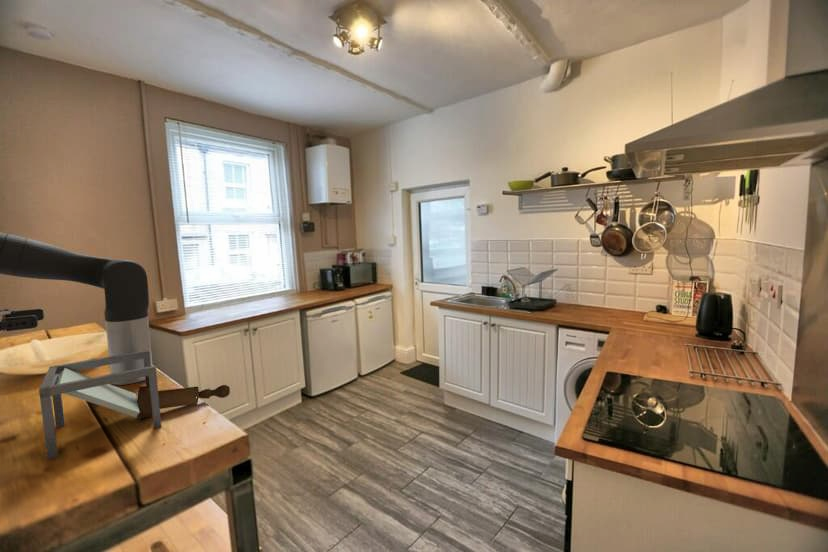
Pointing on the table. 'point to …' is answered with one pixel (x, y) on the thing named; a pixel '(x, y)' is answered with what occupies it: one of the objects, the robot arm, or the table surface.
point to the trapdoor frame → (55, 390)
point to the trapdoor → (102, 394)
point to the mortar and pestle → (176, 397)
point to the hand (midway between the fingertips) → (40, 317)
